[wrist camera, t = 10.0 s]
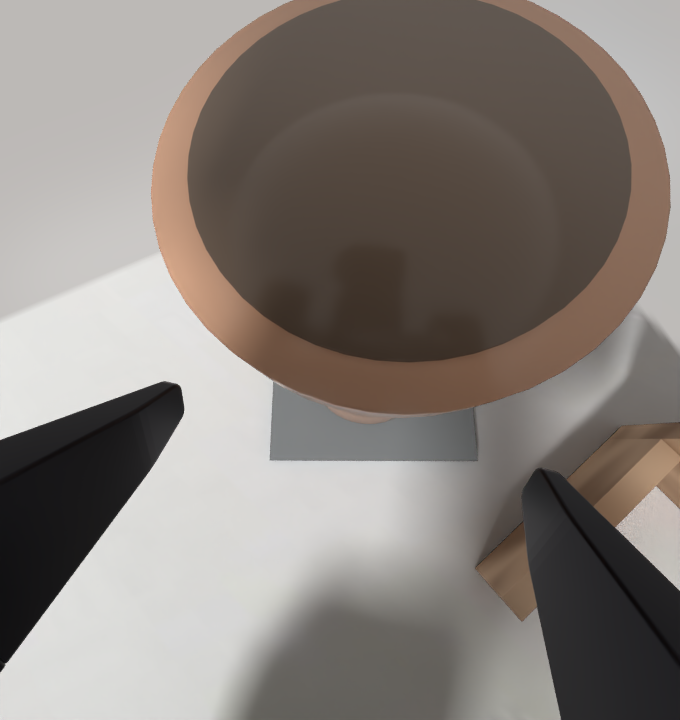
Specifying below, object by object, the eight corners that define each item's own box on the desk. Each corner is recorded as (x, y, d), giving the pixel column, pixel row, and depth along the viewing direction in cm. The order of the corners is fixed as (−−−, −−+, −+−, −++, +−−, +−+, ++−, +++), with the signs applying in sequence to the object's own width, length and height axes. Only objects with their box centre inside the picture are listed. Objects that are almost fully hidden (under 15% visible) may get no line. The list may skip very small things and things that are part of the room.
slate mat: (272, 459, 17) (269, 460, 17) (280, 278, 20) (278, 274, 19) (473, 460, 17) (477, 460, 16) (457, 274, 19) (460, 268, 18)
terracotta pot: (355, 465, 16) (356, 552, 4) (271, 351, 18) (58, 122, 5) (468, 375, 17) (806, 177, 4) (378, 273, 19) (429, -97, 6)
